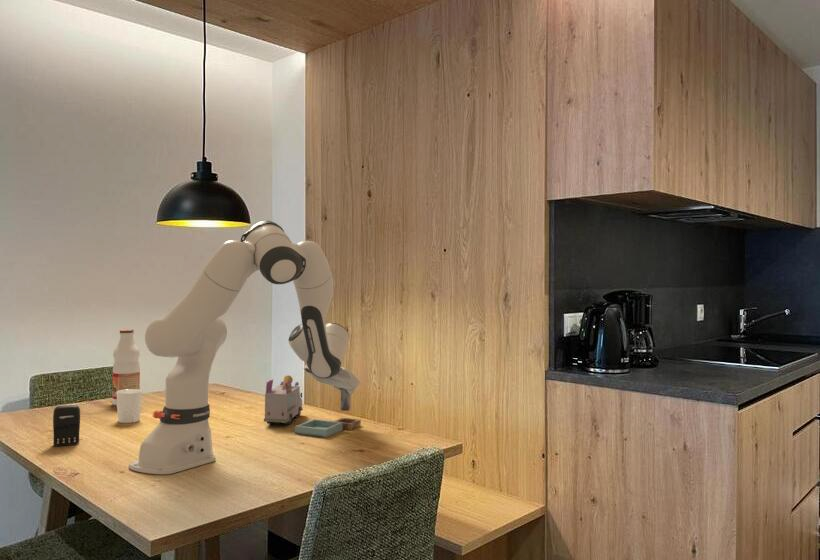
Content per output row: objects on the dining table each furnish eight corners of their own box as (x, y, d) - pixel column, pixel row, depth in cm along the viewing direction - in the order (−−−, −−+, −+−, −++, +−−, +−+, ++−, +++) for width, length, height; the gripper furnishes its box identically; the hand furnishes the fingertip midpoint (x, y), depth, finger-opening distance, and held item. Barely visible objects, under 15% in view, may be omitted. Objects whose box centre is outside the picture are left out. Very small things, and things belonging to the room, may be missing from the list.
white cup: (141, 422, 214) (141, 392, 214) (115, 424, 211) (115, 393, 211) (141, 417, 221) (142, 388, 221) (116, 419, 218) (117, 389, 218)
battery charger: (52, 448, 182) (52, 407, 182) (52, 444, 185) (53, 405, 185) (80, 445, 185) (80, 405, 185) (79, 442, 189) (80, 403, 189)
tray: (325, 437, 198) (326, 429, 198) (295, 434, 203) (295, 426, 203) (342, 430, 209) (342, 422, 209) (313, 426, 213) (313, 418, 213)
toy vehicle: (304, 415, 229) (305, 373, 229) (288, 428, 210) (289, 382, 210) (279, 414, 230) (280, 372, 230) (261, 427, 211) (262, 381, 210)
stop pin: (347, 411, 211) (348, 378, 210) (336, 410, 212) (337, 376, 212) (353, 409, 215) (354, 376, 214) (342, 407, 216) (343, 375, 216)
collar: (351, 430, 209) (351, 424, 209) (332, 427, 211) (332, 421, 211) (360, 425, 215) (360, 419, 215) (342, 423, 218) (342, 417, 218)
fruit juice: (129, 407, 237) (130, 331, 237) (106, 405, 239) (107, 330, 239) (144, 402, 246) (145, 329, 246) (122, 400, 248) (123, 328, 248)
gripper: (349, 361, 201) (372, 389, 208) (312, 353, 216) (334, 379, 223) (337, 376, 198) (361, 404, 205) (300, 367, 213) (323, 394, 220)
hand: (347, 391), depth 214 cm, fingers closed on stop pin, 3 cm apart
